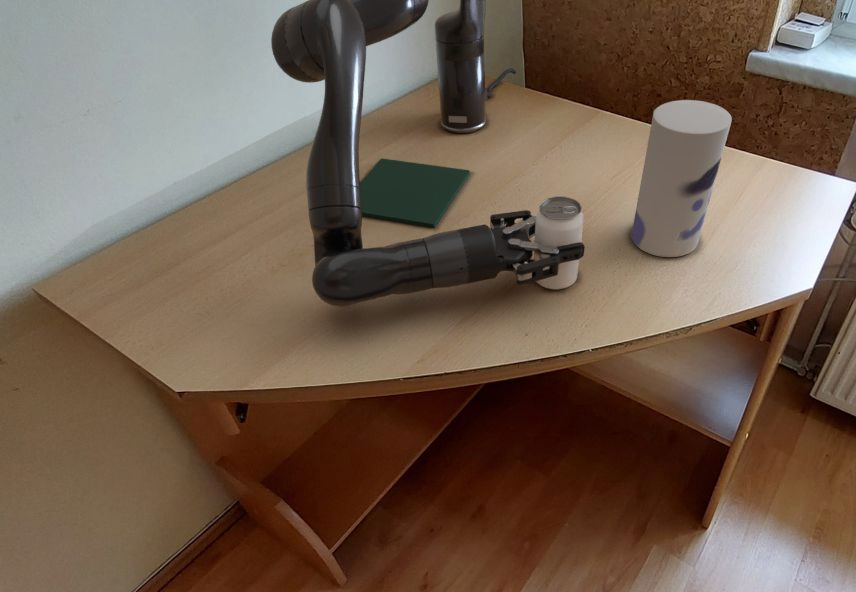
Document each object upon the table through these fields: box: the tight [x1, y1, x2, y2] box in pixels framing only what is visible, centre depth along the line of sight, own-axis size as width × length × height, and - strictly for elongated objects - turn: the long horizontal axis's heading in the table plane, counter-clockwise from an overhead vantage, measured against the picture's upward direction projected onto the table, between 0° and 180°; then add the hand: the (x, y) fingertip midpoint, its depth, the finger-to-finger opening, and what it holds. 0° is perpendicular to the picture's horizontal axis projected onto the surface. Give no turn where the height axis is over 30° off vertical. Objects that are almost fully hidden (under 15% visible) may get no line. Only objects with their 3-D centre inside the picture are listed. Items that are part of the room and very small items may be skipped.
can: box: [533, 195, 584, 291], centre depth 87 cm, size 6×6×12 cm
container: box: [631, 99, 733, 258], centre depth 89 cm, size 10×10×20 cm
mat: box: [360, 158, 471, 229], centre depth 110 cm, size 18×18×1 cm
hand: (573, 235), depth 87 cm, fingers closed on can, 6 cm apart
